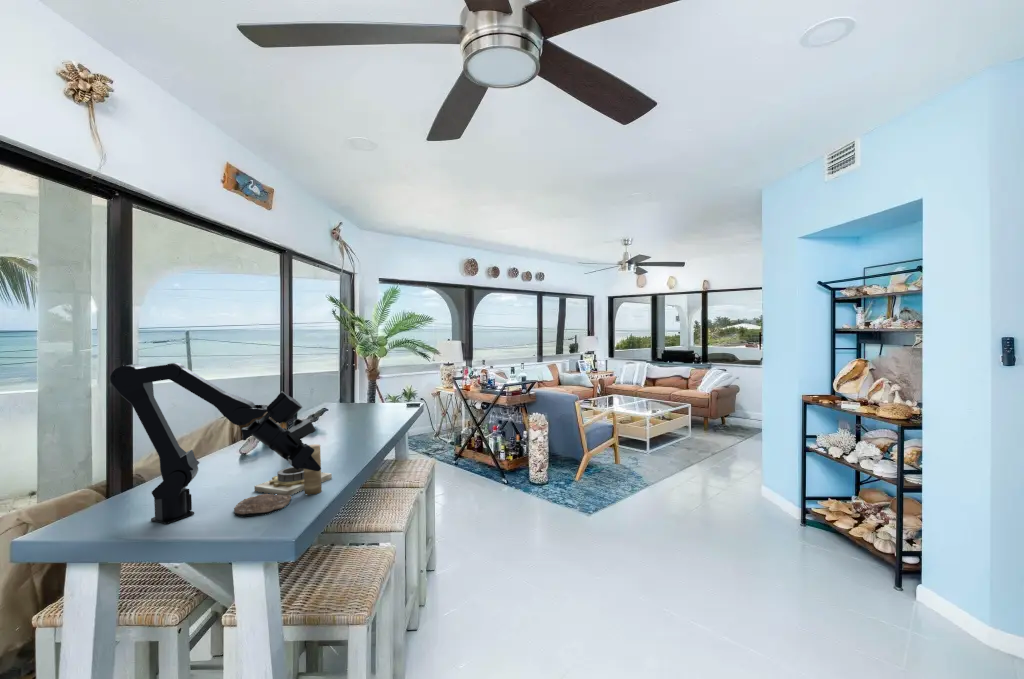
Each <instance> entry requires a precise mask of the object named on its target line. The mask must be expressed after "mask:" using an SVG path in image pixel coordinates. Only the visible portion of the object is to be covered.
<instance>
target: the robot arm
mask: <svg viewBox="0 0 1024 679" xmlns="http://www.w3.org/2000/svg"><path fill="white" fill-rule="evenodd" d="M161 381H172V382H173V383H175V384H177V385H179V386H180V387H182V388H183V389H185V390H187V391H189V392H190V393H192V394H194V395H196V396H197V397H198V398H200V399H202V400H204V401H206V403H207V402H208V403H209V404H210V405H212V406H214V407H215V408H216V409H217V410H218V411H219V412H220V413H221V415H223V416H224V418H226V419H227V420H228V421H230V423H231V424H233V425H236V426H244V425H247V424H249V423H250V422H251V421H253V420H254V421H253V422H251V423H250V425H248V426H246V427H241V433H242V441H246V440H248V439H249V438H250V437H251V436H252V437H253V438H255V439H256V440H258V441H259V442H260V443H262V444H263V445H265V446H266V447H268V448H269V449H270V450H271V451H274V452H275V453H276V454H277V455H278V456H280V457H281V458H282V459H284V460H286V461H287V462H288V464H289V465H290V467H294V468H295V469H297V470H298V469H299V468H302V469H308V470H314V471H320V470H321V471H322V466H321V467H320V466H319V465H318V463H317V462H316V461H315V460H314V458H313V457H312V456H311V455H312V453H313V452H314V449H313V448H311V447H310V446H309V445H310V444H308V443H303V440H302V439H304V438H305V437H308V436H309V435H310V434H314V433H315V432H316V428H315V426H314V424H313V423H312V421H311V420H310V419H309V418H308V419H306V418H304V419H303V420H301V419H300V418H296V419H294V420H292V426H291V428H289V429H286V428H285V427H282V426H280V425H281V424H283V423H285V424H287V423H288V422H289V421H290V420H291V419H293V418H294V416H295V415H296V414H297V413H298V412H299V411H300V410H302V409H303V406H302V405H301V404H300V402H299V401H298V400H296V399H295V398H294V397H291V396H290V395H289V394H287V393H285V392H284V391H281V392H279V393H278V395H277V396H276V398H274V399H273V400H272V401H271V402H270V403H269V404H267V405H266V404H256V403H254V402H253V401H250V400H248V399H246V398H243V397H241V396H239V395H234V394H231V393H229V392H227V391H225V390H223V389H221V388H220V387H218V386H217V385H215V384H213V383H212V382H210V381H208V380H207V379H205V378H203V377H202V376H200V375H198V374H197V373H195V372H193V371H192V370H191V369H189V368H188V367H186V366H185V365H183V364H182V363H180V362H172V363H167V364H162V365H154V366H144V365H141V364H137V363H135V364H128V365H127V364H126V365H122V366H121V365H120V366H119V367H117V368H115V369H114V370H113V371H112V372H111V374H110V376H109V382H110V383H111V386H112V387H113V388H114V389H115V390H116V391H117V393H118V394H119V395H120V396H121V397H122V398H124V399H125V400H126V401H127V402H128V403H129V404H131V406H132V407H133V410H134V411H135V414H136V415H137V416H138V417H137V418H138V419H139V421H140V422H141V425H142V427H143V429H144V431H145V432H146V434H147V436H148V438H149V440H150V442H151V444H152V446H153V447H154V449H155V451H156V453H157V456H158V458H159V470H160V474H161V478H162V481H161V482H160V483H159V484H158V485H157V486H156V487H155V488H154V489H153V490H151V495H152V496H153V500H154V501H153V502H154V503H153V504H154V516H153V517H151V518H150V521H151V522H154V523H161V524H165V525H167V524H171V523H173V522H174V523H175V522H176V521H178V520H183V519H185V518H187V517H190V516H192V515H194V514H195V511H192V510H193V508H192V507H193V505H192V504H193V503H192V494H191V493H190V488H187V487H188V486H189V484H190V483H191V482H192V481H193V479H195V477H196V476H197V474H198V472H199V467H198V465H199V464H200V461H199V460H197V458H196V457H195V453H194V450H193V449H190V450H188V451H186V450H184V449H183V448H182V447H181V446H180V445H179V442H178V441H177V439H176V437H175V435H174V433H173V430H172V429H171V427H170V425H169V423H168V421H167V419H166V417H165V415H164V413H163V411H162V409H161V407H160V406H159V404H158V402H157V399H156V398H155V394H154V383H155V382H161ZM279 424H280V425H279Z"/></svg>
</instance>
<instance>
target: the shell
mask: <svg viewBox="0 0 1024 679" xmlns="http://www.w3.org/2000/svg"><path fill="white" fill-rule="evenodd" d="M291 499H292V495H291V496H290V495H274V494H268V493H263V494H257V495H254V496H250V497H248V498H244V499H243V500H241V501H239V502H238V503H237V504H236V505H235V506H234V508H233V509H234V510H233V512H234V515H235V516H238V517H241V518H246V517H256V516H260V515H261V516H262V515H263V516H266V515H270V514H273V513H276V512H278V510H279V511H281V510H282V508H283V509H285V508H286V507H288V506H289V504H290V503H291V502H290V501H291ZM289 502H290V503H289ZM285 506H286V507H285ZM284 507H285V508H284ZM275 511H276V512H275ZM272 512H273V513H272ZM269 513H270V514H269ZM265 514H266V515H265Z"/></svg>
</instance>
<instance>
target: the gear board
mask: <svg viewBox="0 0 1024 679" xmlns="http://www.w3.org/2000/svg"><path fill="white" fill-rule="evenodd" d="M276 473H277V475H274V476H273V477H271V479H270V480H267V481H264V482H262V483H258V484H256V485H254V486H253V487H254V492H256V491H258V493H262V492H264V493H263V494H268V493H270V494H273V495H274V494H277V495H291V496H293V495H295V494H298V493H300V492H302V490H303V491H304V469H302V468H299V469H298V470H297V469H295V468H294V467H293V466H289V467H285V468H282V469H280V470H278V471H277V472H276ZM332 477H333V476H332V472H331V473H330V472H322V471H321V482H322V483H324V482H326V480H327V481H330V480H332V479H333V478H332ZM331 478H332V479H331ZM299 491H300V492H299ZM297 492H298V493H297ZM294 493H295V494H294ZM292 494H293V495H292Z"/></svg>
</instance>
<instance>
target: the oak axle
mask: <svg viewBox="0 0 1024 679" xmlns="http://www.w3.org/2000/svg"><path fill="white" fill-rule="evenodd" d="M308 445H309V446H310V447H311V448H313V449H314V452H313V453H312V455H311V456H312V457H313V458H314V460H315V461H316V462H317V463H318V465H319V466H320V467H321V468H322V463H321V462H322V459H321V445H320V444H314V443H313V444H308ZM321 472H322V469H321V470H320V471H314V470H308V469H304V490H303V492H304V495H305V494H308V495H307V496H311V495H310V494H314V495H317V493H318V494H320V493H321V492H322V491H323V490H322V483H321Z"/></svg>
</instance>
